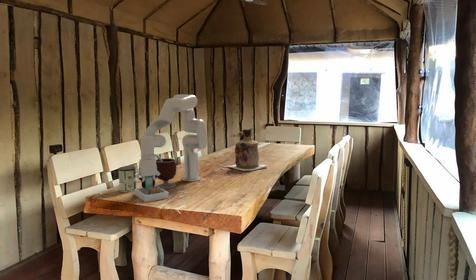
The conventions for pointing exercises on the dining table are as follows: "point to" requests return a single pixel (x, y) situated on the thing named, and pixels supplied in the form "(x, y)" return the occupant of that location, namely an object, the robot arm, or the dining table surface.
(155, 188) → the walnut cube
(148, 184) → the teal rounded capsule
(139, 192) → the grey tote
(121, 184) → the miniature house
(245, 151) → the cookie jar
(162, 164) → the mate gourd
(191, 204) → the dining table surface
